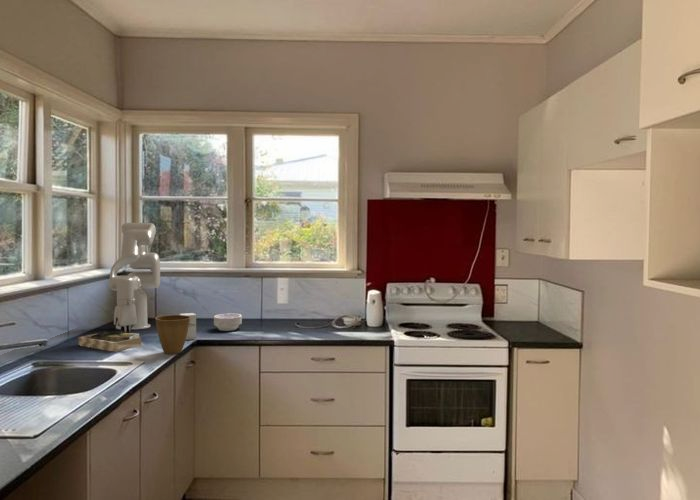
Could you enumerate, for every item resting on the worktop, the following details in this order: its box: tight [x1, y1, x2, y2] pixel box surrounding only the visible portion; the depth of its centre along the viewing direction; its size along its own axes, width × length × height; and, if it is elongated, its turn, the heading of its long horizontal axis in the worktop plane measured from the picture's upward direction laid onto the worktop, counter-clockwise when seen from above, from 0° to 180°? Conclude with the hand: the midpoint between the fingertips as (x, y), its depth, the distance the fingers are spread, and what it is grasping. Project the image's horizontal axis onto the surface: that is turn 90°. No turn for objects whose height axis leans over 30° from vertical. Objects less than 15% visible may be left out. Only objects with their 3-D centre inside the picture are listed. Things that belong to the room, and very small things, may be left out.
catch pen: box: [77, 333, 142, 353], centre depth 243 cm, size 26×14×4 cm, turn 62°
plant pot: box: [155, 314, 190, 355], centre depth 230 cm, size 15×15×16 cm
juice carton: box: [91, 331, 140, 342], centre depth 244 cm, size 20×10×6 cm, turn 87°
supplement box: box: [178, 312, 197, 341], centre depth 259 cm, size 7×7×13 cm
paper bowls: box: [213, 312, 243, 332], centre depth 283 cm, size 15×15×8 cm
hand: (126, 339), depth 251 cm, fingers closed
